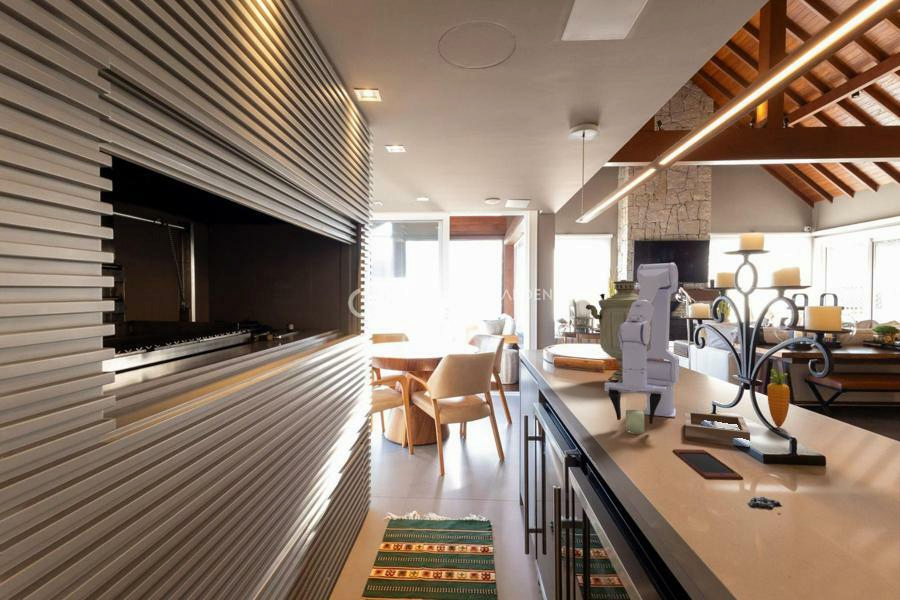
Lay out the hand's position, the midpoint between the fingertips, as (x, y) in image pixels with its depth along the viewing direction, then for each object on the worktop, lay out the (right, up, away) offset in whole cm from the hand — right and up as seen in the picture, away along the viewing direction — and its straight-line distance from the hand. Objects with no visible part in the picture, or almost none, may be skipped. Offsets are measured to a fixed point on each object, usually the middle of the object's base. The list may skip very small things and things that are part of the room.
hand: (634, 420), depth 113 cm
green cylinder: (0, -3, 0) cm, 3 cm away
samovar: (+21, -2, +59) cm, 63 cm away
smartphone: (+5, -4, -22) cm, 23 cm away
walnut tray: (+18, -2, -4) cm, 19 cm away
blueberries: (+5, -4, -40) cm, 40 cm away
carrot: (+38, -2, +1) cm, 38 cm away
